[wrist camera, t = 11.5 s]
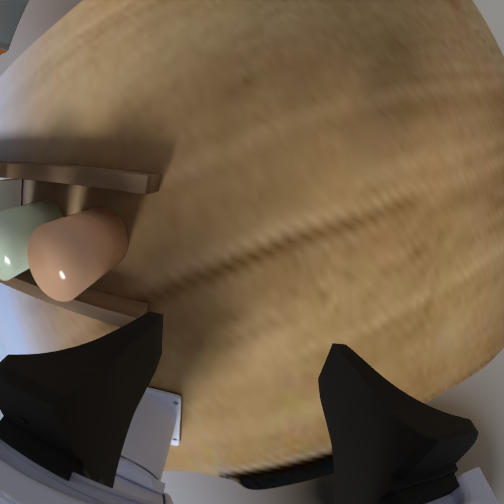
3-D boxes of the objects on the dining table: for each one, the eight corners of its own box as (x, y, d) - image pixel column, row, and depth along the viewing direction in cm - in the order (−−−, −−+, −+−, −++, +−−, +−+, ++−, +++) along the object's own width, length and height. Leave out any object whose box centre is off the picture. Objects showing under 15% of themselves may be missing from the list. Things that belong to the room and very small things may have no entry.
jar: (128, 272, 21) (87, 309, 15) (78, 263, 21) (32, 292, 14) (129, 209, 19) (82, 227, 13) (77, 204, 19) (25, 220, 13)
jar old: (66, 260, 21) (20, 287, 14) (30, 249, 20) (-16, 272, 14) (67, 203, 19) (14, 217, 13) (29, 197, 19) (-21, 210, 13)
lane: (147, 315, 22) (132, 339, 18) (-14, 262, 21) (-34, 272, 17) (160, 174, 19) (141, 176, 15) (-15, 161, 18) (-38, 164, 14)
